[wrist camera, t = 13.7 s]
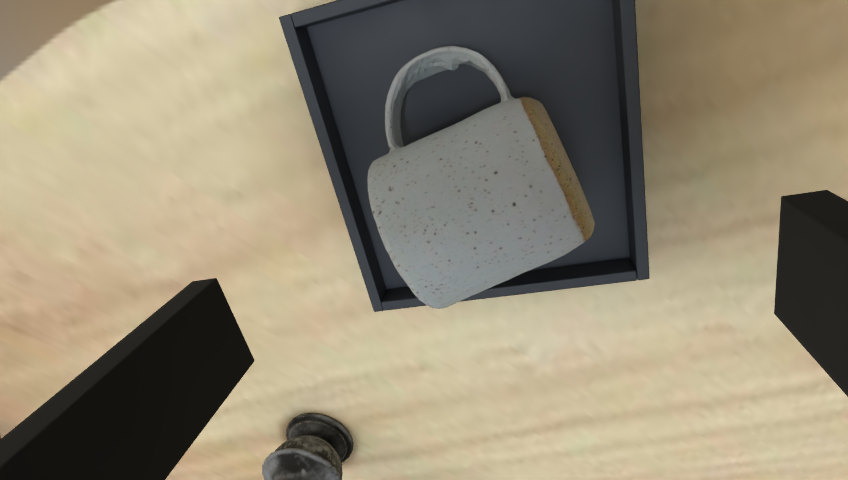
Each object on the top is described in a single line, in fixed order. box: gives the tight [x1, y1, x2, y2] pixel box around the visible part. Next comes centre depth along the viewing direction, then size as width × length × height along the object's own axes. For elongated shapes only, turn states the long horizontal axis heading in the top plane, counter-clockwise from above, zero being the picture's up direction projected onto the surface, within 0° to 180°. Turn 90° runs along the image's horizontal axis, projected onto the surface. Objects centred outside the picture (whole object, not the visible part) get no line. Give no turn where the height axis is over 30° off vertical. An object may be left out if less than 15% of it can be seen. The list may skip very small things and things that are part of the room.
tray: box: [279, 0, 649, 312], centre depth 24 cm, size 15×16×2 cm
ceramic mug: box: [367, 46, 595, 309], centre depth 21 cm, size 11×8×8 cm
